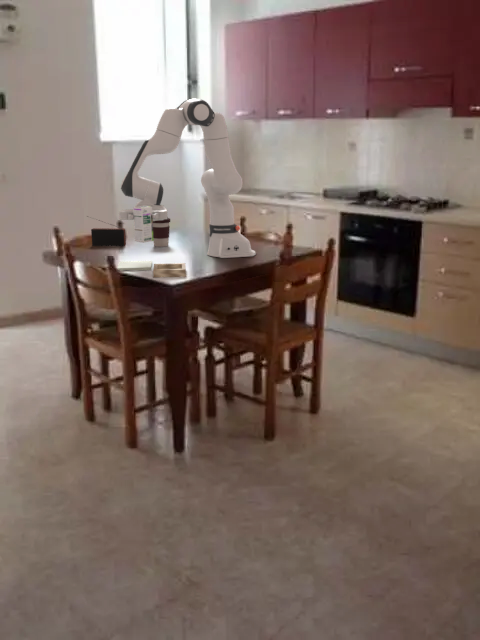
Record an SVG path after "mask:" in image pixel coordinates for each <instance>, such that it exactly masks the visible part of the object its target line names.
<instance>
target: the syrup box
mask: <svg viewBox="0 0 480 640" xmlns="http://www.w3.org/2000/svg"><path fill="white" fill-rule="evenodd" d="M132 209H133V217H134V220H133V227H134V228H133V229H134V230H133V231H134V232H133V233H134V234H133V235H134V242H136V243H137V242H138V243H149V242H153V241H154V238H153V219H152V217H153V216H152V207H151V206H139V207H135V206H133V207H132Z"/></svg>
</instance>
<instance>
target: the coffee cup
mask: <svg viewBox="0 0 480 640" xmlns="http://www.w3.org/2000/svg"><path fill="white" fill-rule="evenodd" d="M170 223H171V218H170V217H168V216H167V219H164V220H160V221H153V238H154V241H152V242H153V246H154V247H158V248H164V247H168V246H169V243H170V242H169V241H170V239H169V238H170Z"/></svg>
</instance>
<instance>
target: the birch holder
mask: <svg viewBox="0 0 480 640" xmlns="http://www.w3.org/2000/svg"><path fill="white" fill-rule="evenodd" d="M186 267H187V266H186V263H185V262H180V263H179V262H177V263H175V262H174V263H153V268H152V270H153V275H152V276H153V278H185V277H187V274H186V273H187V270H186V269H187V268H186Z"/></svg>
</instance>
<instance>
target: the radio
mask: <svg viewBox="0 0 480 640" xmlns="http://www.w3.org/2000/svg"><path fill="white" fill-rule="evenodd" d="M86 217H88V218H91V219H93V220H96V221H100V222H102V223H105V224H108V225H110V226H113V227H116V228H113V227H112V228H101V227H100V228H98V227H95V228H91V229H90V231H91V233H90V234H91V246H92V247H126V245H127V244H126V243H127V242H126V237H127V236H126V228H122V227H121V226H117V225H115V224H112V223H108V222H105V221H102V220H100V219H96V218H94V217H92V216H88V215H86Z"/></svg>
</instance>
